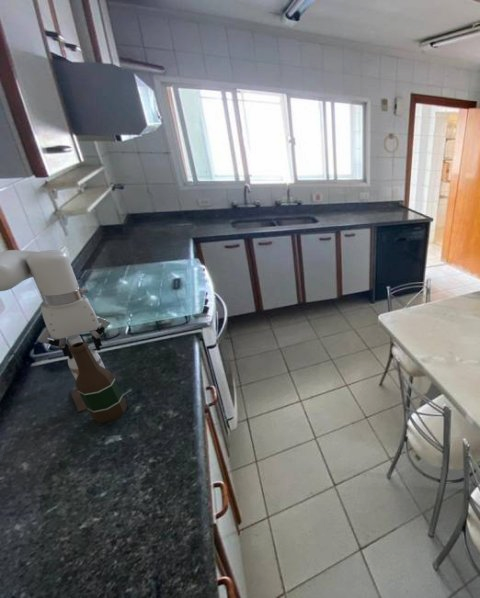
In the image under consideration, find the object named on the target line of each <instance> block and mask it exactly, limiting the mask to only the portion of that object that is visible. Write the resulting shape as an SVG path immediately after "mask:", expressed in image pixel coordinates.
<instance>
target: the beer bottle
mask: <svg viewBox="0 0 480 598" xmlns="http://www.w3.org/2000/svg"><path fill="white" fill-rule="evenodd" d="M68 347H69V351H70V352H72V354H73V356H74V359H75V362H76V364H77V367H78V370H79V375H78V377H77V379H75V386H76V390H77V389H78V392H79V394H80V395H81V397H82V399H83V401H84V403H85V405H86V407H87V409H86V410H88V413H89V414H90V417H91V418H92V419H93V420H94V421H95V422H98V423H99V424H102V423H108V422H112V421H114V420H116V419H117V418H119V417H120V416H122V415H124V414H125V412H126V410H127V408H128V405H127V402H126V399H125V397H124V395H123V392H122V390H121V388H120V386H119V384H118V382H117V378H116V379H115V377H114V376H115V375H114V373H113V372H111V371H110V370H109V369H107V368H106V367H105V368H106V369H105V368H103V367H101V366H100V365H99V364H98V363H97V362H96V360H95V358H94V356H93V355H92V353H91V351H90V350H89V348H90V345H89V344H88V342H85V341H83V342H78V343H75V344H73V345H71V346H68ZM88 347H89V348H88Z"/></svg>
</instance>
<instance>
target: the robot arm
mask: <svg viewBox="0 0 480 598" xmlns="http://www.w3.org/2000/svg"><path fill="white" fill-rule="evenodd" d="M31 278H33V280H34V283H35V285H36V288H37V290H38V292H39V294H40V297H41V300H42V301H43V302H42V303H40V310H41V311H40V312H41V315H42V318H43V321H44V324H45V328H44V330H43V331H42V332H41V334H40V335H39V336H38V338H37V342H38V343H42V344H47V345H50V346H54V347H57V348H60V349H61V351H62V353H63V356H64V357H69V359H72V358H73V357H72V354H71V352H70V351H69V347H70V346H69V344H68V342H67V340H66V339H67V338H68V337H70V336H74V335H81V334H85V333H89V334H90V335H91V339H92V342H93V344H94V347H95V349H96V350H97V351H96V352H98V351H99V352H100V351H101V347H103V343H102V341H101V335H102V334H103V333H104V331H106V329H107V328H108V327H109V326H110V325H111V322H110V320H109V319H105V318H103V317H101V316H98V315H96V312H95V310H94V308H93V306H92V304H91V303H90V300H89V299H88V297H87V295H85V294H87V293H89V290H88V288H87V287H84V288H83V287H80V285H79V283H78V281H77V278H76V274H75V271H74V270H73V267H72V264H71V261H70V258H69V256H68V254H67V253H66V252H64V251H61V250H54V249H51V250H50V249H49V250H40V251H36V250H35V251H34V250H33V251H32V250H22V249H21V250H20V249H9V250H4V251H1V252H0V292H6V291H9V290H11V289H13V288H15V287H17V286H18V285H20V284H21V283H23V282H24V281H26V280H28V279H31ZM49 336H50V337H49Z"/></svg>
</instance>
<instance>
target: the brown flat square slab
mask: <svg viewBox="0 0 480 598" xmlns="http://www.w3.org/2000/svg"><path fill="white" fill-rule="evenodd" d="M113 376H114V377H115V379H116V380H117V375H113ZM70 395H71V398H72V399H73V403H74V405H75V408H76V410H77V412H78V413H81V412H84V411H86V410H88V409H87V407H86V405H85V403H84V401H83V399H82V397H81V395H80V394H79V392H78V389H77V388H76V389H74V390H72V391H70Z"/></svg>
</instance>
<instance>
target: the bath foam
mask: <svg viewBox="0 0 480 598" xmlns="http://www.w3.org/2000/svg"><path fill="white" fill-rule="evenodd" d="M78 342H84V340H83V338H82V337H81V334H78V335H74V336H70V337H66V343H67V345H68V347H70V346H71V345H73V344H75V343H78ZM88 348H89V350H90V351H91V353H92V355H93V356H94V358H95V360H96V362H97V363H98V364H99V365H100V366H101V367H103V368H105V369H107V368H106V367H105V364H104V362H103V360H102V358H101V355H100V354H99V353H98V351H96V350H95V349H93V348H91V347H90V346H88ZM71 354H72V352H71ZM72 357H73V358H72V359H69V356H67V365H68V368H69V370H70V371H71V374H72V376H73V377H74V379H75V380H76V379H77V377H78V375H79V370H78V367H77V364H76V362H75V359H74V356H73V354H72Z"/></svg>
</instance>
